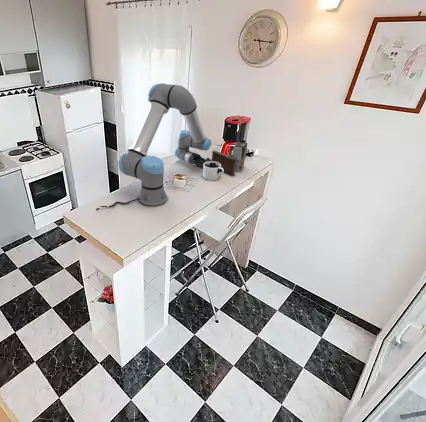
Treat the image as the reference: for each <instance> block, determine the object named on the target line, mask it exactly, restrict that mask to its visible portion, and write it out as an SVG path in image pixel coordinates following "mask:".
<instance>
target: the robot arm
mask: <svg viewBox="0 0 426 422" xmlns="http://www.w3.org/2000/svg"><path fill="white" fill-rule="evenodd" d="M147 96H148V97H147V101H148V107H149V109H148V111H147V113H146V115H145V118H144V120H143V122H142V124H141V127H140V128H139V131H138V132H137V135H136V138H135V140H134V142H133V145H132V146H131V147H129V148H128V149H127V151H126V152H123V153H122V154H121V155H120V156H119V158H118V163H117V165H118V170H119V172H121V173H122V174H123V175H126V176H129V177H132V178H135V179H138V180H140V181H141V187H140V190H139V193H138V198H134V199H131V200H128V201H126V202H122V201H115V202H114V203H113V204H111V205H101V206H100V205H99V207H102V208H113V207H114V206H116V204H121V205H127V204H130V203H133V202H136V201H139V203H141V204H143V205H145V206H150V207H151V206H152V207H153V206H154V207H155V206H161V205H162V204H164V203H165V202H166V201H167V193H166V191H165V188H164V187H165V186H164V171H165V167H164V162H163V160H162V159H161V158H160V157H158V156H155V155H148V154H147V153H148V151H149V148H150V146H151V144H152V142H153V139H154V137H155V135H156V133H157V131H158V129H159V126H160V124H161V122H162V120H163V117H164V115H166V114H168V112H169V110H170V109H175V110H178V111H179V115H181V116H183V118H184V122H185V124H186V126H187V129H182V130H179V132H178V137H177V146H176V147H175V148H174V152H173V153H174V156H175V157H176V158H178V159H179V160H181V161H184V162H186V163H188V164H190V165H192V167H195V168H197V169H198V168H199V169H201V170H203V164H204V163H205V162H208V161H212V158H210V157H208V156H207V157H206V158H204V157H202V156H201V154H199V153H197V152H194V151H192V150H190V148H192V149H197V150H200V151H209V150H210V149H211V147H212V140H211V139H210V138H208V137H206V135H205V132H204V129H203V126H202V123H201V120H200V117H199V114H198V111H197V108H198V105H197V101H196V99H195V98H194V96H193V94H192V93H191V92H190V90H188V89H187V88H186V87H184V86H182V85H181V84H168V83H164V82H162V83H155V84H153V85H152V86H151V87H150V89H149V91H148V93H147ZM205 166H206V167H209V168H218V167H219V166H217V165H216V163H210V165H208V164H205ZM220 168H222V167H220ZM219 170H220V173H222V169H218V170H217V173H219ZM107 206H109V207H107ZM99 209H100V208H98V207H97V208H96V209H95V211H98V210H99Z"/></svg>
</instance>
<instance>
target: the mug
mask: <svg viewBox="0 0 426 422" xmlns="http://www.w3.org/2000/svg"><path fill="white" fill-rule="evenodd" d="M210 163H216V165H217V166H219V167H218V168H209V167H206V166H205V164H208V165H210ZM220 167H221V164H220V163H218V162H215V161H208V162H205V163H204V164H203V169H202V178H203V179H205V180H208V181H217V180H218V179H220V176H221V175H223V174H224V169H223V168H220ZM218 169H222V172H220V170H219V173H217V170H218Z"/></svg>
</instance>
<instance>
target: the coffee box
mask: <svg viewBox="0 0 426 422" xmlns="http://www.w3.org/2000/svg"><path fill="white" fill-rule="evenodd" d="M247 149H248V142H240V141H237V142H236V143H235V144H234V146H233V151H232V156H231V157H233V158H235V159H237V161H236V167H235V172H238V173H240V172H242V169H243V168H244V166H245V161H246V155H247Z"/></svg>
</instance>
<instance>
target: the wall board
mask: <svg viewBox="0 0 426 422" xmlns="http://www.w3.org/2000/svg"><path fill="white" fill-rule="evenodd" d="M211 160H212V161H215V162H218V163H220V164H221V167H222V168H223V169H224V172H223V174H226V175H228V176H230V177H233V176H236V173H235V172H236V171H235V167H236V161H237V159H235V158H233V157H232V156H230V155H227V154H225V153H223V152H220V151H218V150H215V149H214V150H212V151H211Z"/></svg>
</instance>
